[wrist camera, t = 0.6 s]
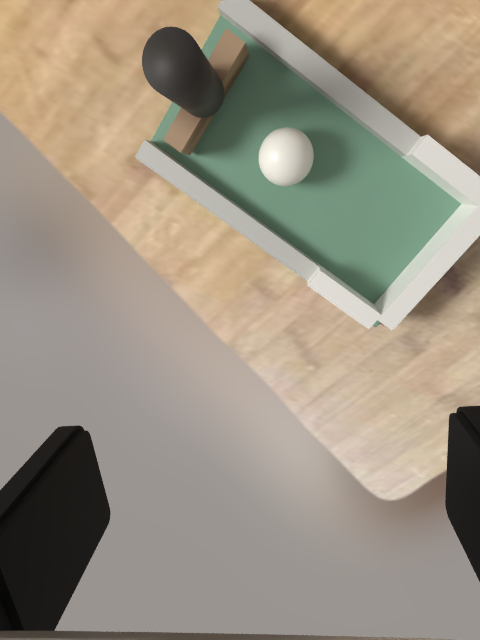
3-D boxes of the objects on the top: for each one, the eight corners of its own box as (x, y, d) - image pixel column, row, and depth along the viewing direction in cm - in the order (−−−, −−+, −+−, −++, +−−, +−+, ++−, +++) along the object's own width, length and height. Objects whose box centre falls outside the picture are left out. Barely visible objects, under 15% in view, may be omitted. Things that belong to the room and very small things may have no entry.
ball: (280, 118, 31) (279, 111, 27) (322, 151, 32) (327, 147, 28) (249, 165, 33) (245, 164, 29) (291, 196, 33) (291, 198, 29)
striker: (223, 36, 30) (189, -42, 19) (257, 62, 30) (242, 0, 19) (166, 137, 32) (108, 117, 22) (198, 160, 32) (156, 153, 22)
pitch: (234, -1, 30) (226, -26, 26) (485, 198, 32) (511, 201, 29) (145, 158, 34) (128, 156, 30) (373, 323, 37) (383, 340, 33)
